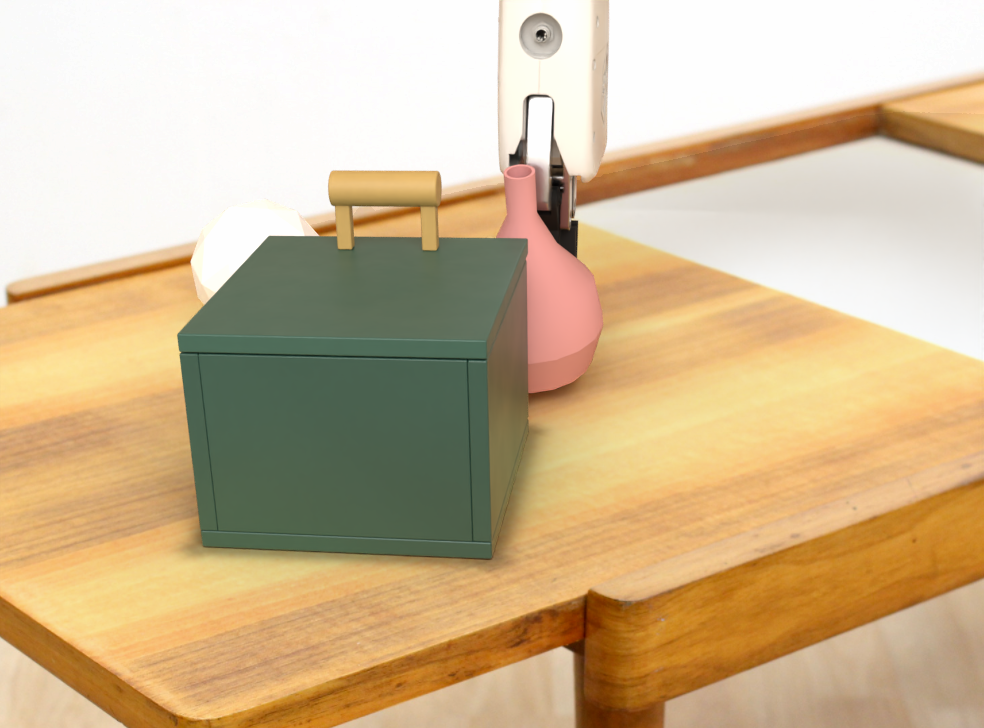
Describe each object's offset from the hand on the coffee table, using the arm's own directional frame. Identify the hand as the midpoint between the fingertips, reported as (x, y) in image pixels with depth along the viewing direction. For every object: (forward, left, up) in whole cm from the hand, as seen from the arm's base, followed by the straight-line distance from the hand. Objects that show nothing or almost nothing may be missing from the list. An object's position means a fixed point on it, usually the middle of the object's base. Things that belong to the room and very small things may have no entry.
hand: (545, 294), depth 85 cm
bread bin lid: (+6, +18, +5) cm, 19 cm away
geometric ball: (+17, -3, -4) cm, 18 cm away
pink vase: (0, +4, -3) cm, 6 cm away
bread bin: (+6, +18, -3) cm, 19 cm away
